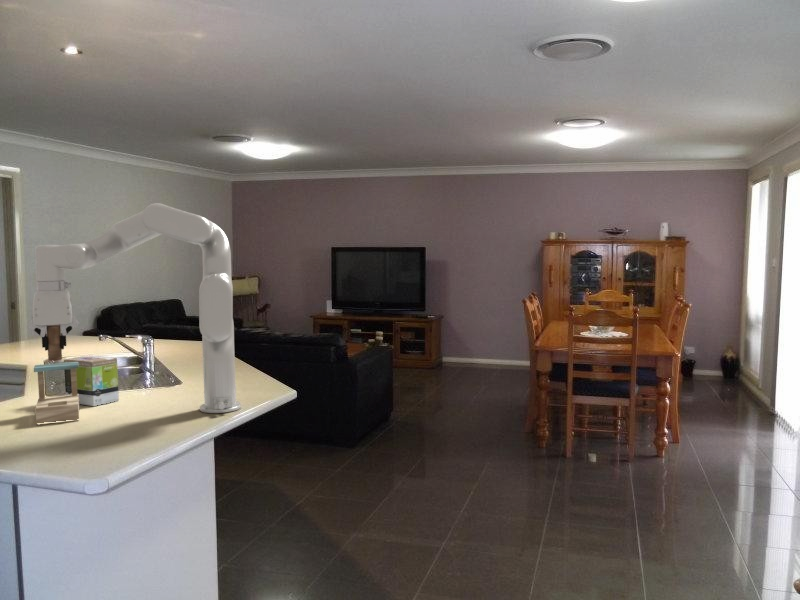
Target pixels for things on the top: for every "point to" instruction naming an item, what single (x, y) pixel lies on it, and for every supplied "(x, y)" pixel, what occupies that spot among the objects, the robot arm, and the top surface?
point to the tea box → (94, 380)
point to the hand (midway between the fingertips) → (54, 348)
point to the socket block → (57, 405)
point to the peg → (54, 343)
